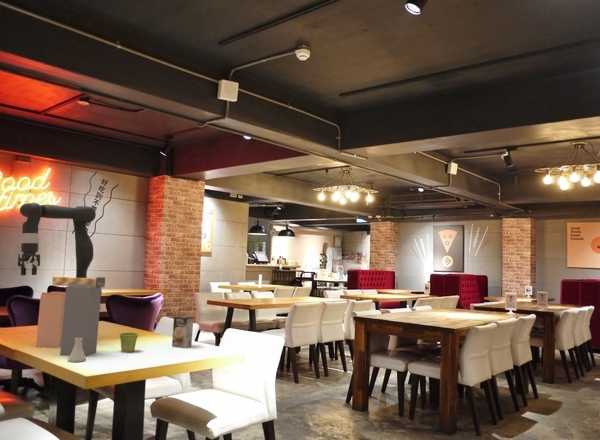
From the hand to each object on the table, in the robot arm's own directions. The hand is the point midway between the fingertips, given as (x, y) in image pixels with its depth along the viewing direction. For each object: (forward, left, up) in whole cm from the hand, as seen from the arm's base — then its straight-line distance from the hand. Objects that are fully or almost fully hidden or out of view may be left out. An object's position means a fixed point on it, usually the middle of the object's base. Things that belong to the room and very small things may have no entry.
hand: (28, 275), depth 242 cm
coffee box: (-69, +33, -36) cm, 85 cm away
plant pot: (-39, +31, -36) cm, 62 cm away
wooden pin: (-15, +23, -4) cm, 28 cm away
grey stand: (-17, +25, -36) cm, 47 cm away
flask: (-10, +41, -36) cm, 56 cm away
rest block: (-15, -3, -36) cm, 39 cm away
